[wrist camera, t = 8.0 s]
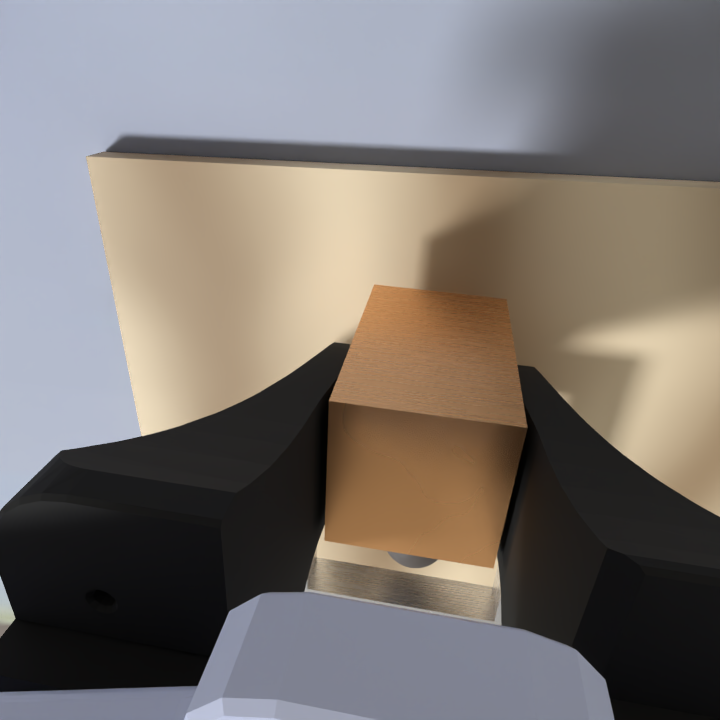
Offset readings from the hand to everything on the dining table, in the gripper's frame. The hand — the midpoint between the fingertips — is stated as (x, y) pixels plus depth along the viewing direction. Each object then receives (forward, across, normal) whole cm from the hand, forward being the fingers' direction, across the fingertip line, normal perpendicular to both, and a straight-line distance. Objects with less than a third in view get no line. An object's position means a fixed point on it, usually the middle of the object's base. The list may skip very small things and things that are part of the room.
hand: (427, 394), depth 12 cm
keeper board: (+4, 0, +3) cm, 5 cm away
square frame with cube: (+2, 0, +3) cm, 4 cm away
